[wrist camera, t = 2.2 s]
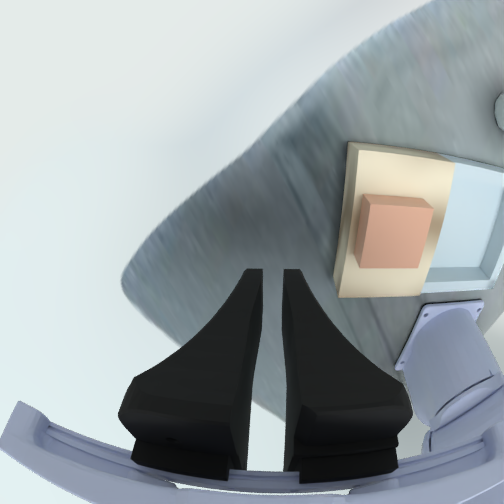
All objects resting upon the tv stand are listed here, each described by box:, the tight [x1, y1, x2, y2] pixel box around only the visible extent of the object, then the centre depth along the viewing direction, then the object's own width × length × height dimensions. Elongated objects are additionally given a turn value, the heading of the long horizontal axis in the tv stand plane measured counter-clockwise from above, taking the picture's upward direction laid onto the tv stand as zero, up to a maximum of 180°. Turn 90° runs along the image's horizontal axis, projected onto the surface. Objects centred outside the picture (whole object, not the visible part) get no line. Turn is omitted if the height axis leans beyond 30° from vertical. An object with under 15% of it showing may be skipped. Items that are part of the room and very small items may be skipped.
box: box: [421, 153, 504, 293], centre depth 17 cm, size 10×8×2 cm
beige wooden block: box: [333, 142, 455, 298], centre depth 17 cm, size 10×6×2 cm, turn 2°
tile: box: [354, 194, 434, 268], centre depth 15 cm, size 4×4×2 cm
